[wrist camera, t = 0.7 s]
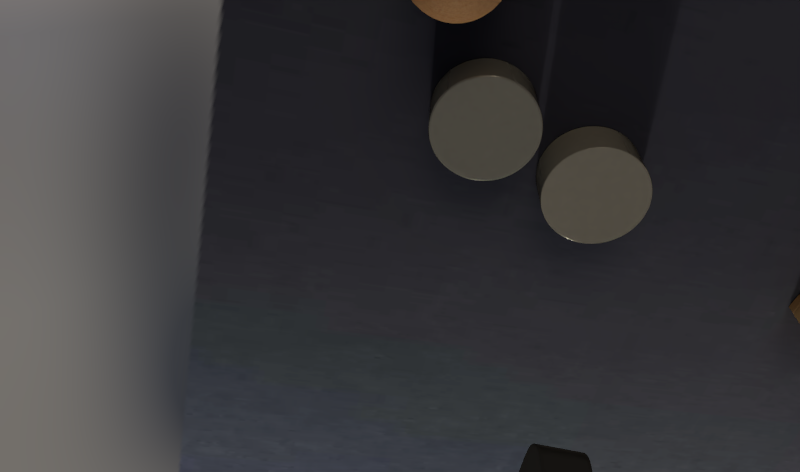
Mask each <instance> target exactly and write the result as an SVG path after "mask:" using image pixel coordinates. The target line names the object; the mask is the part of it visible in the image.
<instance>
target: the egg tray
mask: <svg viewBox="0 0 800 472" xmlns="http://www.w3.org/2000/svg"><path fill="white" fill-rule="evenodd" d="M789 308H790V309H791V311H792V312H793V313H794V315H795V317H796V318H797V320H798V322H799V323H800V294H799V295H798V296H797V297H796V299H795V300H794V301H793V302H792V303H791V304H790V306H789Z"/></svg>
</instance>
